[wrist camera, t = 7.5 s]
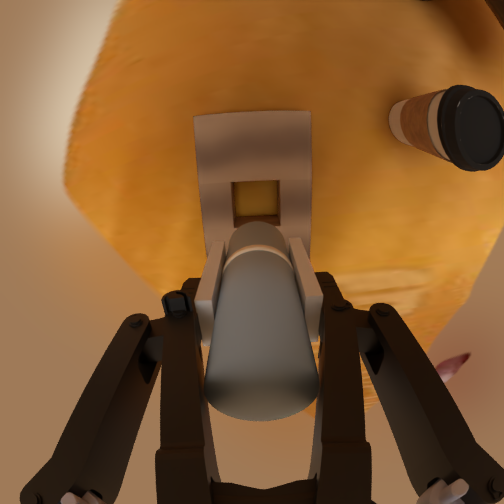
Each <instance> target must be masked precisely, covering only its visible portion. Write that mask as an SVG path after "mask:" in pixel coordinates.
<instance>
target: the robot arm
mask: <svg viewBox="0 0 504 504" xmlns="http://www.w3.org/2000/svg"><path fill="white" fill-rule="evenodd" d="M423 1H430V0H423ZM485 2H486V3H487V5H488V6H489V7H490V9H491V10H492V12H493V13H494V15H495V16H496V18H497V19H498V21H499V23H500V24H501V26H502V27H503V29H504V0H485ZM289 258H290V262H291V264H292V266H293V270H294V273H295V281H296V285H297V289H298V293H299V297H300V301H301V304H302V309H303V313H304V317H305V321H306V325H307V329H308V333H309V337H310V342H317V341H318V336H320V346H319V353H318V358H319V369H318V376H319V381H320V390H319V393H318V395H317V402H316V415H315V426H314V437H313V446H312V456H311V464H310V470H309V476H308V479H307V480H299V481H294V482H291V483H287V484H284V485H281V486H277V487H273V488H270V489H257V488H251V487H247V486H242V485H238V484H234V483H223V482H221V479H220V476H219V472H218V467H217V462H216V455H215V449H214V443H213V436H212V430H211V423H210V416H209V408H208V401H207V399H206V397H205V395H204V390H203V387H204V380H205V376H204V368H203V358H202V350H201V340H202V342H203V346H210V343H211V337H212V332H213V326H214V320H215V314H216V309H217V303H218V298H219V292H220V287H221V281H222V279H221V276H222V271H223V267H224V265H225V260H226V250H225V241H213V243H212V246H211V249H210V252H209V255H208V258H207V261H206V264H205V267H204V271H203V274H202V277H201V278H189V279H188V280H186V281H185V282H184V283H183V286H182V288H181V290H175V291H171V292H169V293H167V294H165V295H164V296H163V297H162V299H161V301H162V304H163V308H164V312H165V317H163V318H160V319H155V320H149V318H148V316H147V315H145V314H141V313H139V314H133V315H130V316H129V317H127V318H126V319H125V320H124V322H123V323H122V324H121V326H120V328H119V329H118V331H117V333H116V334H115V336H114V338H113V339H112V341H111V343H110V345H109V346H108V348H107V350H106V351H105V353H104V355H103V357H102V358H101V360H100V362H99V364H98V366H97V367H96V369H95V371H94V373H93V374H92V376H91V378H90V380H89V382H88V384H87V385H86V387H85V389H84V391H83V393H82V395H81V397H80V399H79V401H78V403H77V405H76V407H75V409H74V411H73V413H72V415H71V417H70V419H69V421H68V423H67V425H66V427H65V429H64V431H63V433H62V435H61V437H60V440H59V442H58V444H57V446H56V448H55V451H54V453H53V455H52V458H51V459H50V460H49V461H48V462H47V463H46V464H45V465H44V466H43V467H42V468H41V469H40V470H39V472H38V473H37V474H36V475H35V476H34V477H33V478H32V479H31V480H30V481H29V482H28V483H27V484H26V485H25V487H24V488H23V489H22V491H21V493H20V502H21V504H113V503H114V502H115V500H116V498H117V496H118V493H119V491H120V488H121V485H122V481H123V478H124V475H125V472H126V468H127V465H128V462H129V458H130V455H131V452H132V449H133V445H134V443H135V440H136V436H137V433H138V430H139V427H140V424H141V421H142V418H143V415H144V412H145V409H146V407H147V404H148V401H149V398H150V395H151V392H152V389H153V387H154V384H155V381H156V378H157V376H158V372H159V370H160V367H161V365H162V369H161V400H160V441H161V444H160V445H161V446H160V449H158V450H157V451H156V454H155V472H156V492H157V504H376V503H375V502H374V501H372V500H371V483H372V463H371V462H372V459H371V446H370V443H369V442H367V441H366V437H365V415H364V399H363V386H362V374H361V364H360V356H361V358H362V360H363V362H364V365H365V367H366V369H367V371H368V374H369V376H370V378H371V381H372V383H373V385H374V388H375V390H376V393H377V395H378V397H379V400H380V402H381V405H382V407H383V410H384V412H385V415H386V417H387V419H388V422H389V425H390V427H391V430H392V433H393V435H394V438H395V440H396V443H397V446H398V449H399V451H400V454H401V457H402V460H403V462H404V465H405V468H406V470H407V474H408V476H409V479H410V481H411V484H412V486H413V488H414V489H415V491H416V493H417V494H418V496H419V499H418V501H417V504H495V503H497V502H499V501H500V500H501V499H502V498H503V497H504V469H503V468H502V467H501V466H500V465H499V464H498V463H497V462H496V461H495V460H494V459H493V458H492V457H491V456H490V455H489V454H488V453H487V452H486V451H485V450H483V448H481V446H479V445H478V444H477V443H476V441H475V439H474V437H473V435H472V433H471V431H470V429H469V427H468V425H467V423H466V422H465V420H464V418H463V416H462V414H461V412H460V410H459V409H458V407H457V405H456V403H455V402H454V400H453V398H452V396H451V394H450V393H449V391H448V389H447V388H446V386H445V384H444V383H443V381H442V379H441V378H440V376H439V374H438V373H437V371H436V369H435V368H434V366H433V365H432V363H431V362H430V360H429V359H428V357H427V355H426V354H425V352H424V351H423V349H422V348H421V346H420V345H419V343H418V342H417V340H416V339H415V337H414V336H413V334H412V333H411V331H410V330H409V328H408V327H407V325H406V324H405V322H404V321H403V320H402V318H401V317H400V315H399V314H398V312H397V311H396V310H395V309H394V308H393V307H392V306H390V305H389V304H385V303H376V304H373V305H372V306H371V307H370V310H369V311H365V310H358V309H354V308H353V306H352V304H351V303H350V302H349V301H347V300H345V299H344V298H343V296H342V294H341V292H340V290H339V288H338V287H337V284H336V282H335V280H334V278H333V276H332V275H331V274H329V273H328V272H314V270H313V268H312V265H311V263H310V260H309V258H308V255H307V253H306V250H305V248H304V245H303V243H302V240H301V238H289ZM359 352H360V355H359Z"/></svg>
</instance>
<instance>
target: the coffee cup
mask: <svg viewBox="0 0 504 504" xmlns="http://www.w3.org/2000/svg"><path fill="white" fill-rule="evenodd" d="M389 125H390V129H391V131H392V133H393V135H394V136H395V137H396V138H397V139H398V140H399V141H400V142H402V143H404V144H407V145H410V146H413V147H416V148H418V149H420V150H423V151H425V152H428V153H430V154H432V155H435V156H437V157H439V158H441V159H444V160H446V161H448V162H451V163H453V164H454V165H455V166H457V167H458V168H460V169H462V170H465V171H474V172H475V171H479V170H484V171H485V170H488V169H491V168H493V167H494V166H495V165H496V164H498V163H499V161H500V160H501V159H502V157H503V155H504V111H503V109H502V107H501V105H500V104H499V102H498V101H497V100H496V99H495V97H494V96H492V95H491V94H490V93H488V92H486V91H483V90H478V89H475V88H473V87H470V86H466V85H455V86H452V87H450V88H449V89H444V90H440V91H436V92H432V93H428V94H425V95H421V96H417V97H414V98H411V99H407V100H403V101H400V102H398V103H396V104H395V105H394V106H393V107H392V108H391V110H390V113H389Z"/></svg>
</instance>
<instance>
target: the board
mask: <svg viewBox="0 0 504 504" xmlns="http://www.w3.org/2000/svg"><path fill="white" fill-rule="evenodd" d="M193 119H194V134H195V147H196V159H197V171H198V182H199V192H200V202H201V211H202V220H203V229H204V237H205V246H206V254H207V258H208V255H209V252H210V249H211V246H212V243H213V241H225V250H226V255H227V250H228V245H229V240H230V238H231V236H232V234H233V233H234V232H235V230H236V229H238V228H239V227H240V226H242V225H244V224H246V223H249V222H255V221H260V222H265V223H269V224H271V225H273V226H274V227H276V228H277V229H278V230H279V231H280V232H281V234H282V235H283V237H284V240H285V243H286V247H287V251H288V254H289V238H301V240H302V243H303V245H304V248H305V250H306V253H307V255H308V258H309V260H310V238H311V199H312V145H311V111H250V112H233V113H220V114H209V115H200V116H193ZM263 180H277V200H278V215H273V216H249V217H236V213H235V198H234V183H233V182H241V181H263Z"/></svg>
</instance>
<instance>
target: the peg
mask: <svg viewBox="0 0 504 504" xmlns="http://www.w3.org/2000/svg"><path fill="white" fill-rule="evenodd" d="M221 279H222V281H221V287H220V292H219V298H218V303H217V309H216V314H215V320H214V326H213V332H212V337H211V343H210V350H209V356H208V361H207V367H206V374H205V380H204V387H203V390H204V395H205V397H206V399H207V401H208V402H209V403H210V404H211V405H212V406H213V407H214V408H215V409H217V410H218V411H220V412H222V413H224V414H226V415H228V416H231V417H234V418H237V419H242V420H248V421H271V420H277V419H282V418H285V417H289V416H291V415H294V414H296V413H298V412H300V411H302V410H304V409H305V408H306V407H308V406H309V405H310V404H311V403H312V402H313V401H314V400H315V399H316V397H317V395H318V393H319V390H320V381H319V376H318V372H317V368H316V363H315V359H314V354H313V350H312V346H311V342H310V337H309V333H308V329H307V325H306V321H305V317H304V313H303V309H302V304H301V301H300V297H299V293H298V289H297V285H296V281H295V273H294V270H293V266H292V264H291V262H290V258H289V254H288V251H287V247H286V243H285V240H284V237H283V235H282V234H281V232H280V231H279V230H278V229H277V228H276V227H274V226H273V225H271V224H269V223H265V222H260V221H255V222H249V223H246V224H244V225H242V226H240V227H239V228H238V229H236V230H235V232H234V233H233V234H232V236H231V238H230V240H229V245H228V250H227V255H226V260H225V265H224V267H223V271H222V276H221Z"/></svg>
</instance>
